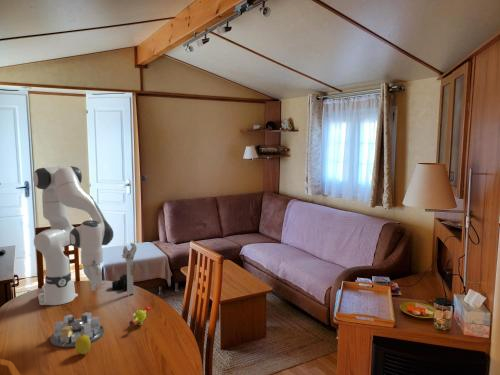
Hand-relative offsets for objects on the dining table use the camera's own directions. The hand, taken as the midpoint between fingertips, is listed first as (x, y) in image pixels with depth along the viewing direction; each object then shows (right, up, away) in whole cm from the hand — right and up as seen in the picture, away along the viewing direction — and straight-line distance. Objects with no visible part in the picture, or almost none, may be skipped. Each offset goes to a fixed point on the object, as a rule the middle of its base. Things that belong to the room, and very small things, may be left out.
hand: (93, 289), depth 171 cm
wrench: (+4, -16, +42) cm, 45 cm away
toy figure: (+18, -19, +8) cm, 27 cm away
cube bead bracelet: (-6, -18, -3) cm, 19 cm away
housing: (-6, -19, -2) cm, 20 cm away
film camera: (-5, -15, +53) cm, 55 cm away
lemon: (+3, -21, -18) cm, 28 cm away
